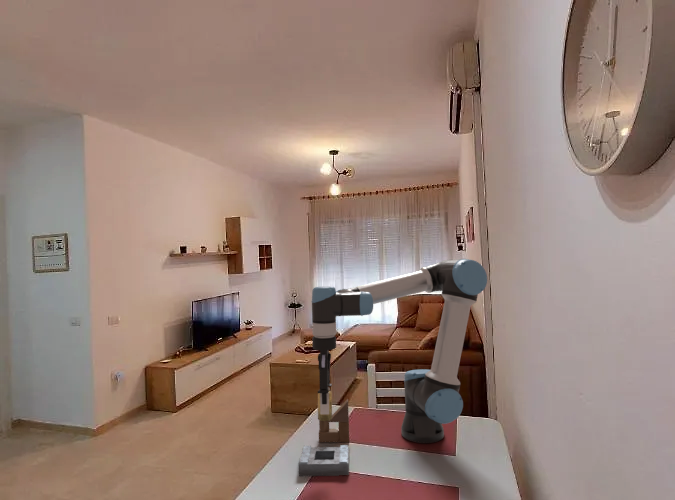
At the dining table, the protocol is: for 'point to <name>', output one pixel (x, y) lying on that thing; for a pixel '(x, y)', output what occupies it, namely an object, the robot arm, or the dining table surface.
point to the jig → (324, 461)
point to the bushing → (329, 416)
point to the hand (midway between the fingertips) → (325, 410)
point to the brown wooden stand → (334, 434)
